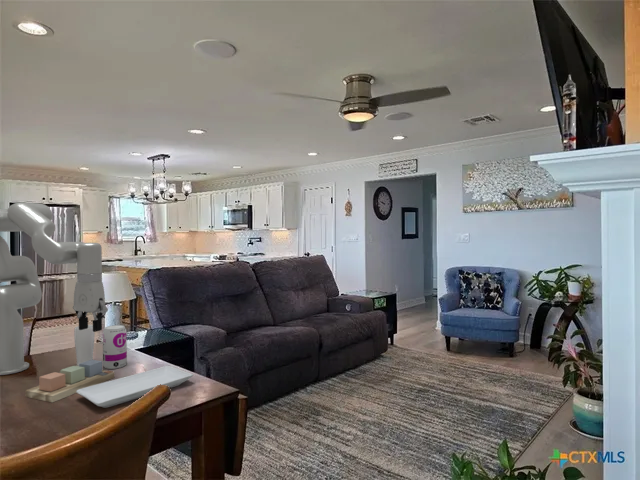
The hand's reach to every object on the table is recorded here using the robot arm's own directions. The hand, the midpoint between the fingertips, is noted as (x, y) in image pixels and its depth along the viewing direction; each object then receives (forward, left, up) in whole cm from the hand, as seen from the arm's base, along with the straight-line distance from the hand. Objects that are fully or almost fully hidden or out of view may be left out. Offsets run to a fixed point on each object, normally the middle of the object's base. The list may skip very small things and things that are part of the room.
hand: (90, 329), depth 146 cm
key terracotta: (0, -14, -16) cm, 21 cm away
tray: (+23, -2, -18) cm, 29 cm away
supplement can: (-4, +14, -18) cm, 23 cm away
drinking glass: (-15, +10, -18) cm, 25 cm away
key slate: (0, 0, -16) cm, 16 cm away
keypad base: (0, -7, -18) cm, 19 cm away
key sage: (0, -7, -16) cm, 17 cm away
